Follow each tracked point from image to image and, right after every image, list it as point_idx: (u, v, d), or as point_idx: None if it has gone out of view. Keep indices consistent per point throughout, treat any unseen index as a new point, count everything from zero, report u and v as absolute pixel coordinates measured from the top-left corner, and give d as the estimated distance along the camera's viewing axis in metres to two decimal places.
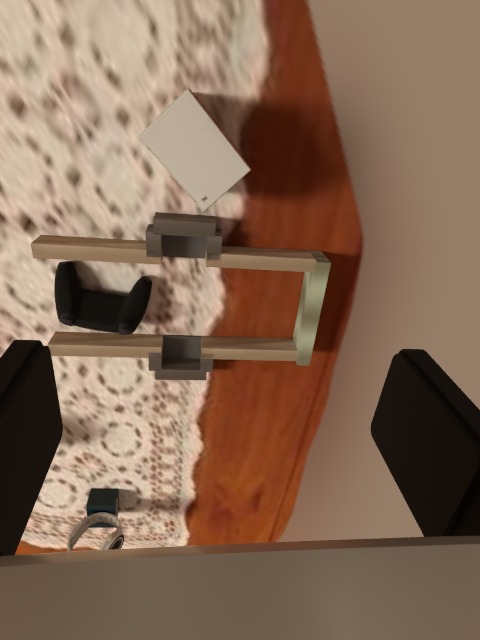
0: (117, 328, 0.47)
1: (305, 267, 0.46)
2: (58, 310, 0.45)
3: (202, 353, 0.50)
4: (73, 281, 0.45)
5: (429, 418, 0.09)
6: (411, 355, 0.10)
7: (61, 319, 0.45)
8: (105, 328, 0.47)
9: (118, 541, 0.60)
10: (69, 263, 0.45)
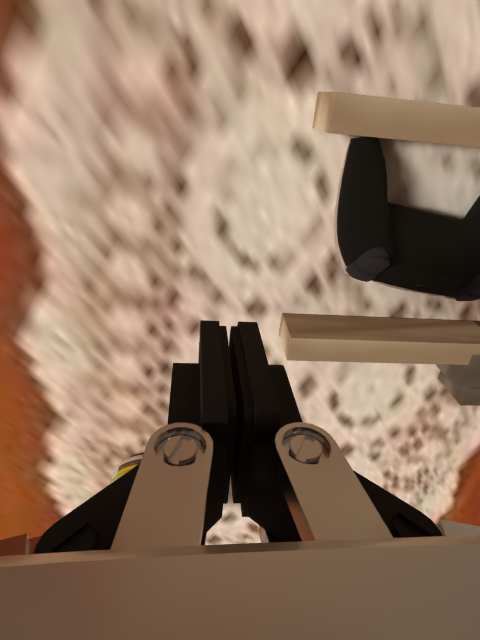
0: (462, 285, 0.22)
1: None
2: (356, 243, 0.20)
3: None
4: None
5: (236, 382, 0.10)
6: (240, 326, 0.11)
7: (371, 262, 0.20)
8: (438, 285, 0.21)
9: None
10: None
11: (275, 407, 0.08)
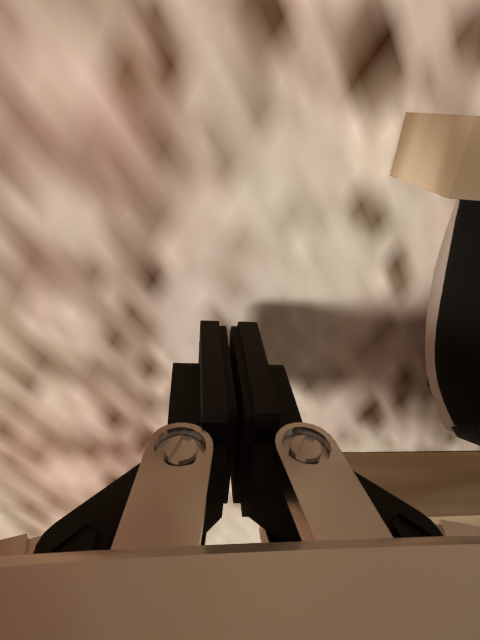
0: None
1: None
2: None
3: None
4: None
5: (236, 382, 0.10)
6: (240, 326, 0.11)
7: None
8: None
9: None
10: None
11: (275, 407, 0.08)
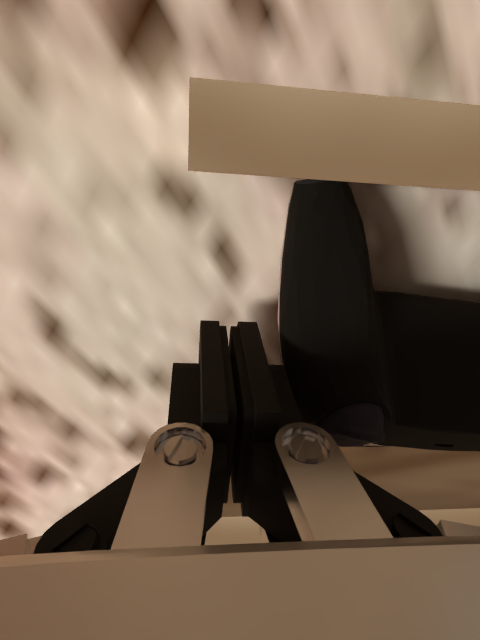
0: None
1: None
2: (316, 392, 0.10)
3: None
4: None
5: (235, 382, 0.10)
6: (240, 326, 0.11)
7: (349, 438, 0.09)
8: None
9: None
10: None
11: (275, 407, 0.08)
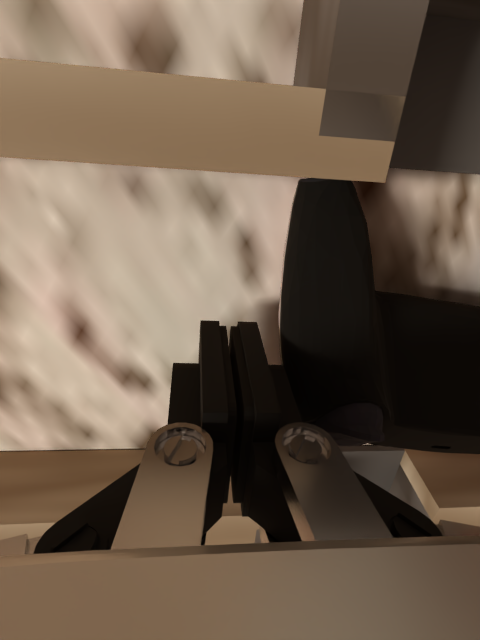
0: None
1: None
2: (316, 391, 0.10)
3: (436, 521, 0.15)
4: None
5: (235, 383, 0.10)
6: (240, 327, 0.11)
7: (347, 437, 0.09)
8: None
9: None
10: None
11: (275, 407, 0.08)
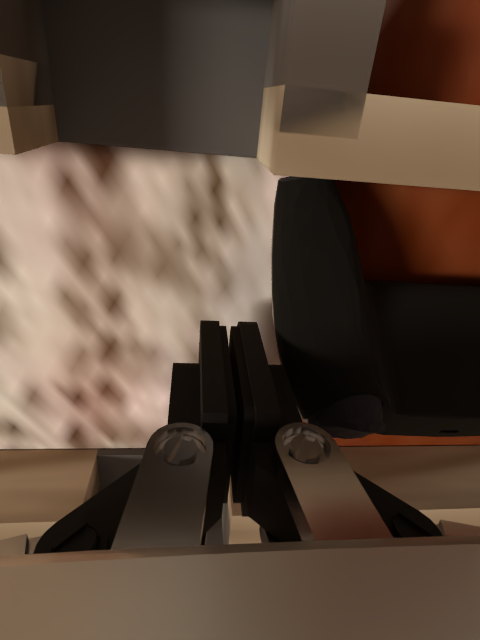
0: None
1: None
2: (314, 386, 0.10)
3: (234, 530, 0.14)
4: (356, 249, 0.10)
5: (236, 382, 0.10)
6: (240, 326, 0.11)
7: (347, 429, 0.10)
8: None
9: None
10: None
11: (275, 407, 0.08)
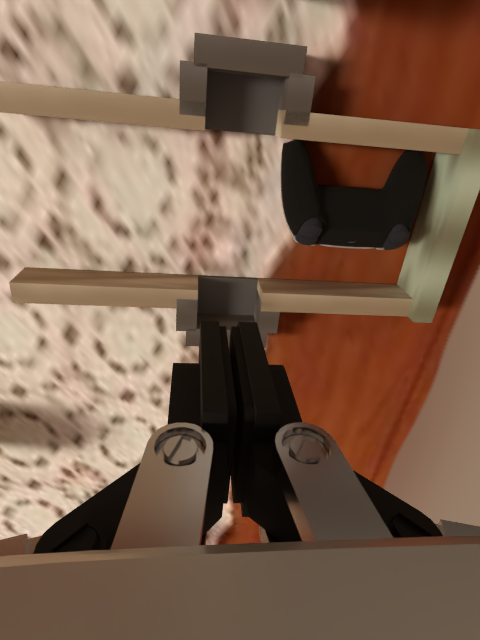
0: (385, 237, 0.29)
1: (449, 144, 0.27)
2: (297, 218, 0.28)
3: (263, 301, 0.31)
4: (312, 168, 0.28)
5: (236, 383, 0.10)
6: (240, 326, 0.11)
7: (308, 230, 0.27)
8: (366, 240, 0.29)
9: None
10: None
11: (275, 407, 0.08)
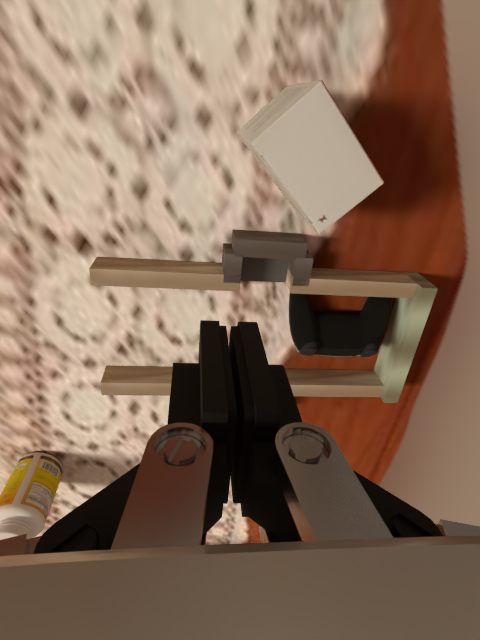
0: (361, 350, 0.41)
1: (405, 293, 0.39)
2: (300, 340, 0.40)
3: None
4: (310, 305, 0.40)
5: (236, 382, 0.10)
6: (240, 326, 0.11)
7: (308, 350, 0.39)
8: (348, 352, 0.41)
9: None
10: None
11: (275, 407, 0.08)
